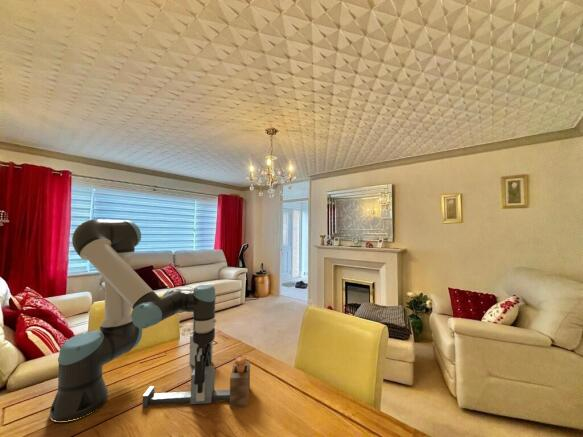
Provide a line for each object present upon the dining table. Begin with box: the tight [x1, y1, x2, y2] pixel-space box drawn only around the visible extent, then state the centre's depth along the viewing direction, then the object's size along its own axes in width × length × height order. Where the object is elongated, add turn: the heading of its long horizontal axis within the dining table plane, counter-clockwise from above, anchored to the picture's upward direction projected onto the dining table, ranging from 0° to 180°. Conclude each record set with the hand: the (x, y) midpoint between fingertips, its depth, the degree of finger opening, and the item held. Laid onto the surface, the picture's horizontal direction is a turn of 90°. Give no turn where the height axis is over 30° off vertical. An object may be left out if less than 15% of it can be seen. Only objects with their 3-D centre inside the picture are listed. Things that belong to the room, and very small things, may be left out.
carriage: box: [189, 365, 216, 405], centre depth 88 cm, size 7×5×10 cm
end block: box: [229, 360, 251, 409], centre depth 89 cm, size 6×10×10 cm, turn 5°
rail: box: [142, 385, 230, 409], centre depth 88 cm, size 30×5×4 cm, turn 95°
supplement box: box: [189, 334, 214, 368], centre depth 112 cm, size 7×7×13 cm
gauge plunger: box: [234, 356, 247, 373], centre depth 90 cm, size 4×4×6 cm
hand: (202, 394), depth 88 cm, fingers closed on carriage, 5 cm apart
